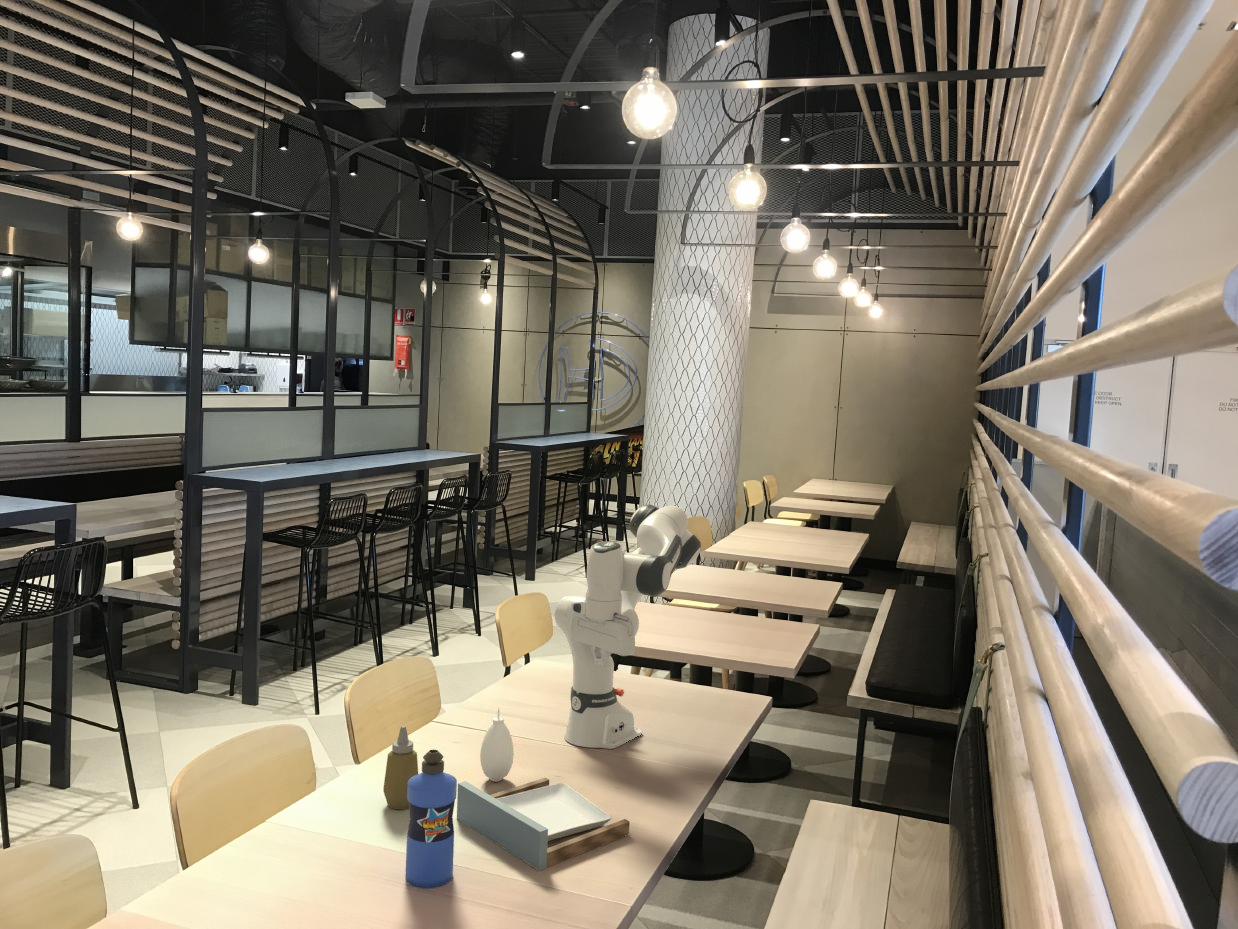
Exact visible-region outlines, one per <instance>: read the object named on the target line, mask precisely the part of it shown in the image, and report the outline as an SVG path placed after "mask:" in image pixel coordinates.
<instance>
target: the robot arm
mask: <svg viewBox="0 0 1238 929" xmlns="http://www.w3.org/2000/svg"><path fill="white" fill-rule="evenodd" d="M688 526H689V520H688V515H687V514H686V512H685V511H684V510H683V509H682V508H680V507H679V506H676V505H672V504H671V505H666V506H663V507H660V508H658V506H655V505H652V504H650V503H649V504H643V505H642V506H640V507H639V508H637V509H636V510H635V511H634V513H633V514H632V515H631V518H630V521H629V525H628V527H629V532H630V533H631V534H632V535H633V536H634V537H635V538H636V541H637V545H638V548H636V549H635V550H633V551H632V552H626V551H624V550H623V548H622V545H621V544H620V543H618V542H616V541H611V540H609V541H607V540H604V541H599V542H596V543H594V544H592V545H591V547H590V551H589V554H588V558H587V564H586V565H587V566H586V583H587V584H586V585H587V590H586V592H585V595H581V594H578V595H577V594H576V595H575V594H571V595H565V596H562V598H561V599H559V601H558V602H557V604H556V606H555V609H554V620H555V623H556V625H557V627H558V628H559V629H560V630H561V631H562V632H561V633H563V634H564V636H565V638H566V641H567V644H568V646H569V648H570V651H571V655H572V656H571V657H572V666H573V667H572V670H573V671H572V686H571V688H570V709H569V710H570V711H569V717H568V723H567V725H566V730H565V733H564V740H565V741H566V742H567V743H570V744H572V745H574V746H578V747H582V748H593V749H595V748H602V749H609V750H612V749H613V750H614V749H616V748H619V747H620V746H622V745H625V744H626V742H627V743H628V741H629V740H631V741H633V740H635V739H636V738H635V737H637V736H639V737H641V736H642V735H643V730H642V729H641V728H639V727H638V726H637V725H635V718H634V714H633V713H632V712H633V711H631V710H630V708H628V707H627V706H626V705H625V704H622V702H620V701H619V700H618V698H617V696H618V697H624V695H625V690H624V689H623V688H620V687H616V688H615V687H614V673H615V671H614V670H615V668H614V667H615V662H614V660H613V657H612V656H611V655H612V653H613V654H615V655H619V656H621V657H627V656H631V655H633V654H635V650H636V638H635V637H636V635H637V634H638V632H639V628H640V627H639V626H640V620H639V619H640V618H639V615H638V614H637V612H636V606H637V604H638V603H639V602H640V600H641V599H642V598H643V596H648V597H653V598H656V597H659V596H660V595H662V594H663V593H664V592H665V591H666V590H668V587H669V585H670V581H671V578H672V574H673V573H674V571H675V569H677V570H680V569H685V568H687V567H688V566H690V565H691V564H693V563H694V562H695V561H696V560H697V559H698V556H699V554H700V550H701V548H702V543H701V541H700V539H699V538H698V537H697V536H696V535H695V534H692V533H691V531H689V530H688ZM641 734H642V735H641ZM640 735H641V736H640ZM634 738H635V739H634ZM637 738H638V737H637ZM632 739H633V740H632ZM629 742H630V741H629Z"/></svg>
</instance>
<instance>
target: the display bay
mask: <svg viewBox="0 0 1238 929" xmlns="http://www.w3.org/2000/svg"><path fill="white" fill-rule="evenodd" d="M549 785H550V778H547V777H543V778H540V779H537V780H533V781H529V782H527V783H525V784H521V785H517V786H513V787H511V788H508V789H506V790H502V791H499V792H498V791H497V792H495V793H492V794H488V793H486V792H485V791H483V790H481V789H480V788H479V787H477V786H475V785H473V784H471V783H470V782H468V781H466V780H465V781H462V782H457V795H456V799H457V802H456V819H457V820H458V821H460V822H462V823H463V824H465V825H466V826H468V827H469V828H471V829H473V830H475V832H477V833H479V834H480V835H481V836H484V837H485V838H487V839H489V840H490V841H491V842H493V843H494V844H496V845H498V846H500V847H501V848H503V849H504V850H506V851H507V852H509V853H510V854H512V855H513V856H515V857H517V859H520V860H522V861H523V862H524V863H526V864H528V865H529V866H530V867H532V868H533V869H536V871H538V872H539V871H541V870H544V869H546V868H549V867H551V866H553V865H556V864H558V863H561V862H564V861H567V860H569V859H572V858H574V857H577V856H579V855H581V854H584V853H586V852H588V851H591V850H594V849H596V848H599V847H602V846H604V845H607V844H609V843H612V842H615V841H617V840H618V839H619V840H620V839H623V838H625V837H626V836H625V835H627V836H629V835H628V834H630V820H628V819H626V818H623V819H621V820H619V821H615V822H612V823H610V824H608V825H605V826H601V827H600V828H597V829H594V830H591V831H590V832H586V833H584V834H581V835H578V836H576V837H573V838H570V839H568V840H565V841H562V842H561V843H558V844H555V845H553V846H550V847H548V842H549V841H548V829H547V828H546V827H544V826H542V825H540V824H539V823H537V822H535V821H533V820H532V819H530V818H528V817H527V816H525V815H523V814H521V813H520V812H518V811H516V810H514V809H513V808H511V807H509V806H508V805H506V804H504V803H502V802H501V801H499V800H497V798H501V797H505V796H509V795H513V794H517V793H521V792H525V791H529V790H533V789H537V788H541V787H545V786H549ZM616 839H617V840H616ZM611 841H612V842H611Z"/></svg>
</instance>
